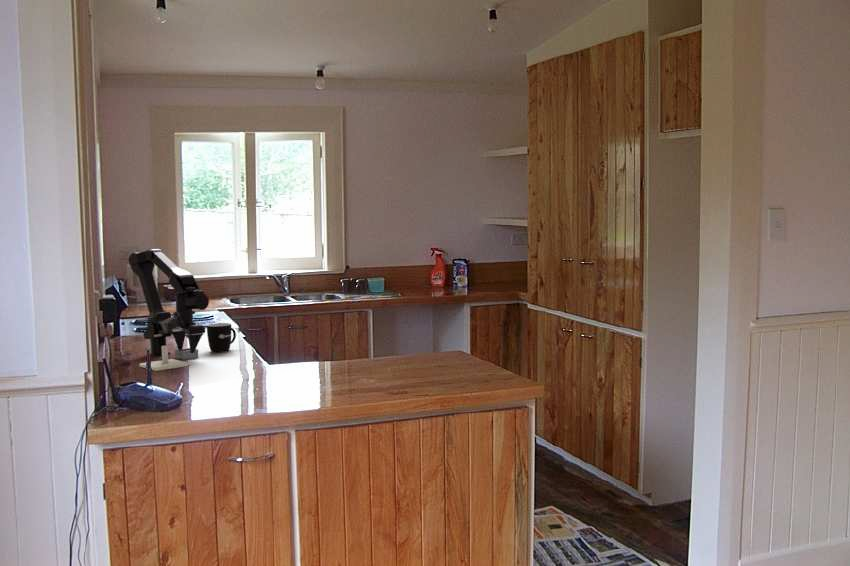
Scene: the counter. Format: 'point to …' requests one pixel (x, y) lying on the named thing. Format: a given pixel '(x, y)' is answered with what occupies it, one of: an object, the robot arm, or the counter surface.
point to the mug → (220, 337)
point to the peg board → (166, 366)
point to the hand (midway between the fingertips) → (186, 351)
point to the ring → (185, 354)
